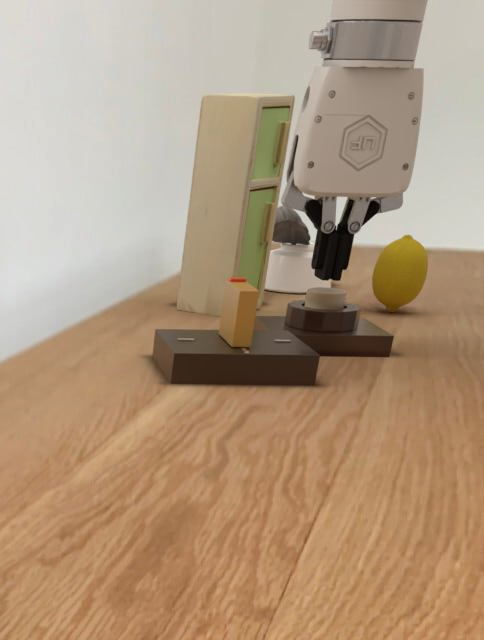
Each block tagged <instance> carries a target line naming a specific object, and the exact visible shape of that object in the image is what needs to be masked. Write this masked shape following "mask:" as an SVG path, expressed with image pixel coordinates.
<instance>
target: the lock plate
mask: <svg viewBox="0 0 484 640" xmlns="http://www.w3.org/2000/svg"><path fill="white" fill-rule="evenodd" d="M152 349H153V350H152V356H151V358H152V359H153V361H154V362H155V364H156V366H158V368H159V369H160V370H161V372H162V373H163V375H164V377H165V378H166V379H167V381H168V382H169V383H170V384H171V385H226V386H227V385H233V386H235V385H237V386H299V387H300V386H305V387H307V386H308V387H310V386H311V387H312V386H313V387H314V386H315V385H316V381H317V380H316V379H317V374H318V369H319V363H320V358H321V356H320V355H319V354H318V353H317V352H315V351H314V350H313V349H311V348H310V347H309V346H307V345H306V344H305V343H304V342H302V341H301V340H300V339H298V338H297V337H296V336H295V335H293V334H292V333H291V332H289V331H268V330H253V335H252V342H251V347H250V348H249V347H231V346H230V345H229V344H228V343H227V342H226V341H225V340H224V339H223V338H222V337H221V336H220V335H219V329H185V328H183V329H179V328H177V329H175V328H155V329H154V337H153V348H152Z"/></svg>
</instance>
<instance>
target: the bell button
mask: <svg viewBox="0 0 484 640" xmlns="http://www.w3.org/2000/svg"><path fill="white" fill-rule="evenodd" d="M347 294H348V291H347V290H344V289H341V288H337V287H331V288H324V287H317V288H309V289H307V293H305V299H306V300H305V299H304V300H305V305H304V307H309V308H314V309H324V310H338V309H344V305H345V302H346V300H347Z"/></svg>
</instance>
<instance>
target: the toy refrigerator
mask: <svg viewBox="0 0 484 640" xmlns="http://www.w3.org/2000/svg"><path fill="white" fill-rule="evenodd" d="M295 103H296V96H295V94H291V93H290V94H289V93H288V94H286V93H252V92H226V93H225V92H224V93H204V94H203V95H202V97H201V102H200V110H199V118H198V126H197V134H196V142H195V151H194V159H193V167H192V176H191V185H190V193H189V201H188V208H187V209H188V210H187V217H186V225H185V232H184V233H185V235H184V242H183V250H182V258H181V266H180V275H179V281H178V282H179V283H178V289H177V298H176V309H177V311H182V312H188V313H193V314H194V313H195V314H201V315H205V316H206V315H207V316H212V317H218V318H219V317H220V318H221V313H222V305H223V298H224V291H225V284H226V280H228V277H244V278H245V279H246V282H247V283H249V284H250V285H252V286H253V287H254V288H256V289H257V290H259V296H258V303H257V309H256V310H258V309H261V308H262V305H263V302H264V295H265V282H266V276H267V269H268V263H269V257H270V251H271V250H272V244H273V241H272V238H273V231H274V225H275V219H276V213H277V208H278V207H279V200H280V195H281V189H282V184H283V183H282V182H283V175H284V169H285V164H286V157H287V151H288V147H289V146H288V145H289V139H290V133H291V126H292V120H293V114H294V109H295V108H294V107H295Z"/></svg>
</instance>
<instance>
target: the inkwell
mask: <svg viewBox="0 0 484 640" xmlns="http://www.w3.org/2000/svg"><path fill="white" fill-rule="evenodd" d="M272 242H274V243H279V244H280V247H279V248H275V249H271V251H270V257H269V263H268V269H267V276H266V282H265V289H264V291H270V292H276V293H285V294H307V289H309V288H317V287H324V288H332V279H329V280H328V281H325V280H321V279H319V278H317V277H316V276H315V275H314V273H315V269H312V267H311V262H312V257H313V251H314V246H315V242H313V241H311V235H310V232H309V228H308V226H307V225H306V223H305V222H304V221H303V220H302V218H301V216H300V214H299V213H298V212H297V210H296V209H292V208H289V207H286V206H284V205H282V204H281V205H280V206H278V207H277V213H276V219H275V225H274V231H273V238H272Z"/></svg>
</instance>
